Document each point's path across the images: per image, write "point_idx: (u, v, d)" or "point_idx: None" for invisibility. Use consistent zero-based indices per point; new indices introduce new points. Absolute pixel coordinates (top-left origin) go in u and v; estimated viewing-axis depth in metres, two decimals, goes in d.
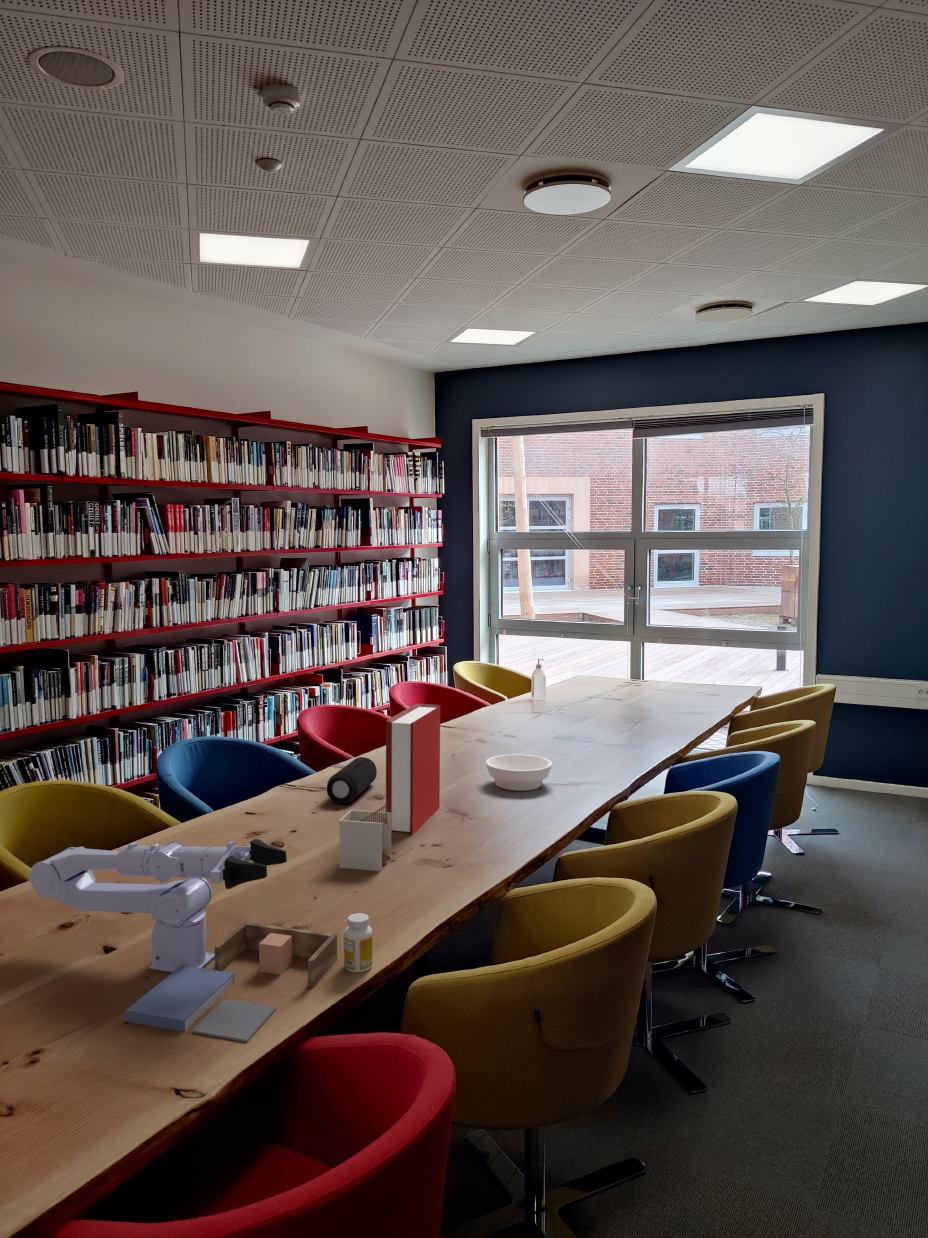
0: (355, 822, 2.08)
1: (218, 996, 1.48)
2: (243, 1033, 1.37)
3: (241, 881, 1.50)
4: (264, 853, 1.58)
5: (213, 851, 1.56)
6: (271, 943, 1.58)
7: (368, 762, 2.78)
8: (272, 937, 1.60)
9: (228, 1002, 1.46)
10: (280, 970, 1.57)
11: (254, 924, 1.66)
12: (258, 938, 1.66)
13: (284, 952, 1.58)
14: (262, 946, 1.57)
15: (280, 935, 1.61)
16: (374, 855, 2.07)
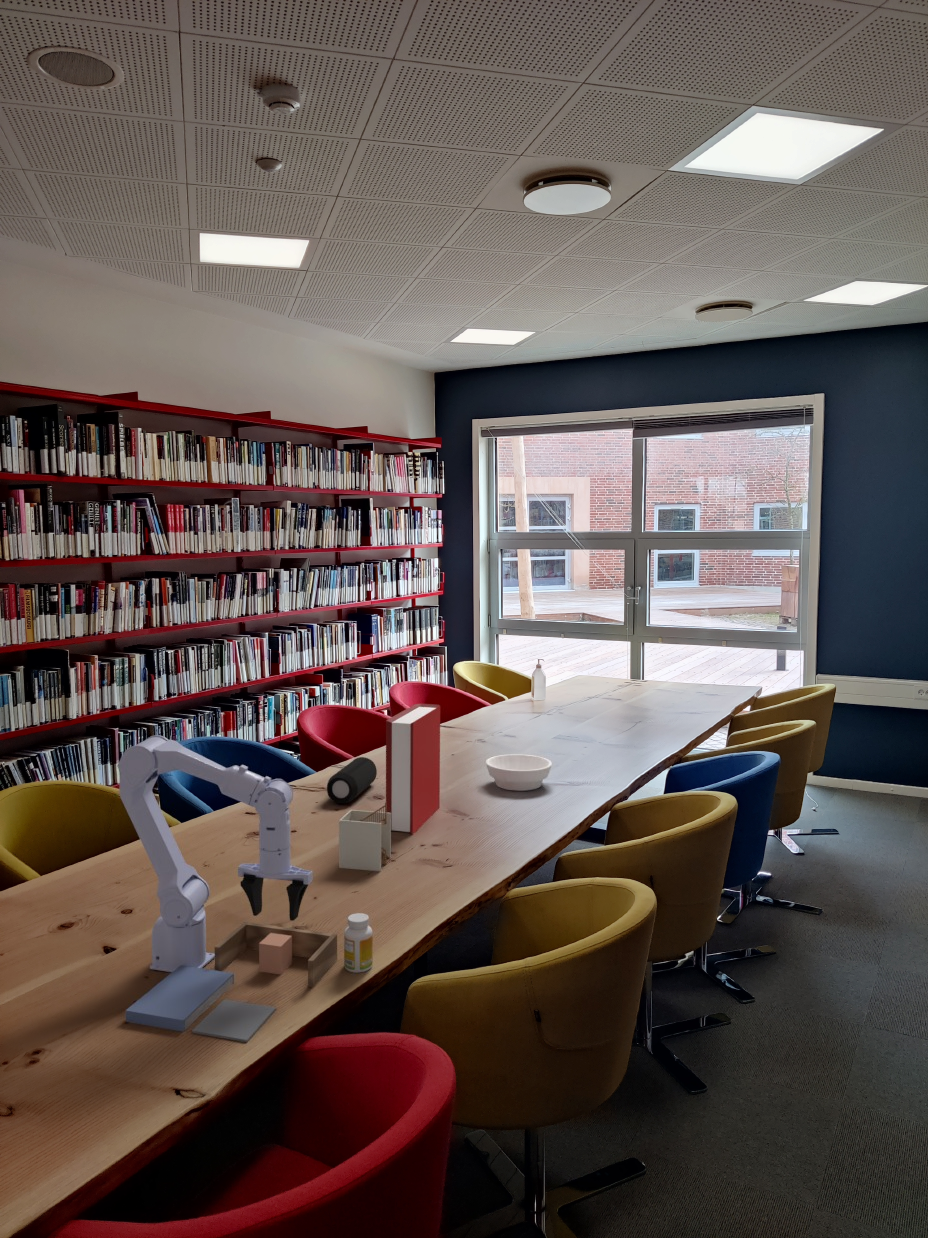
0: (355, 822, 2.08)
1: (218, 996, 1.48)
2: (243, 1033, 1.37)
3: (296, 900, 1.56)
4: (259, 890, 1.60)
5: None
6: (271, 943, 1.58)
7: (368, 762, 2.78)
8: (272, 937, 1.60)
9: (228, 1002, 1.46)
10: (280, 970, 1.57)
11: (254, 924, 1.66)
12: (258, 938, 1.66)
13: (284, 952, 1.58)
14: (262, 946, 1.57)
15: (280, 935, 1.61)
16: (374, 855, 2.07)
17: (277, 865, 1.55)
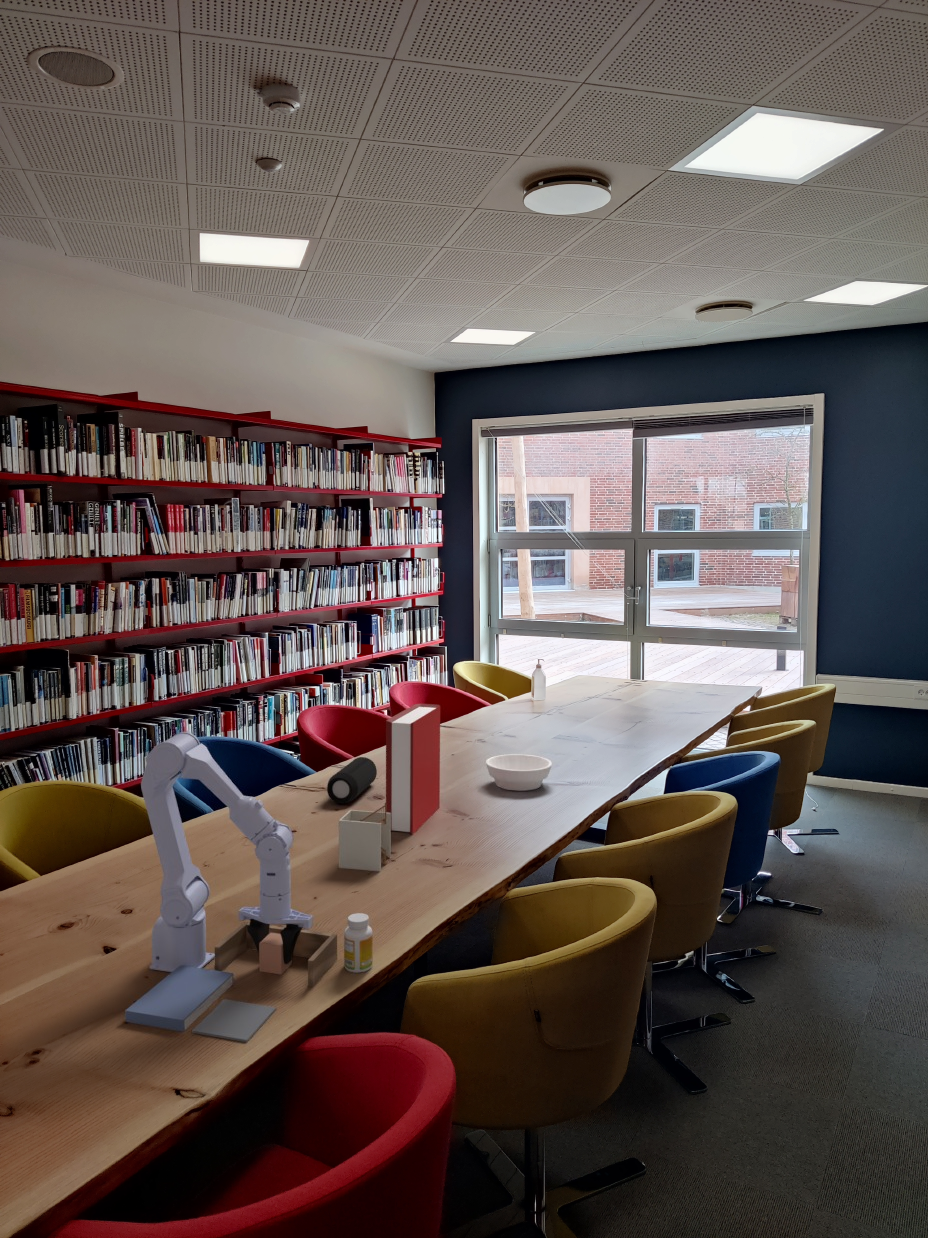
0: (354, 822, 2.08)
1: (217, 996, 1.48)
2: (243, 1033, 1.37)
3: (290, 944, 1.57)
4: (265, 935, 1.60)
5: None
6: (271, 942, 1.58)
7: (368, 762, 2.78)
8: (272, 937, 1.60)
9: (228, 1002, 1.46)
10: (280, 970, 1.57)
11: None
12: None
13: None
14: (262, 946, 1.57)
15: (280, 935, 1.61)
16: (373, 855, 2.07)
17: (277, 910, 1.56)
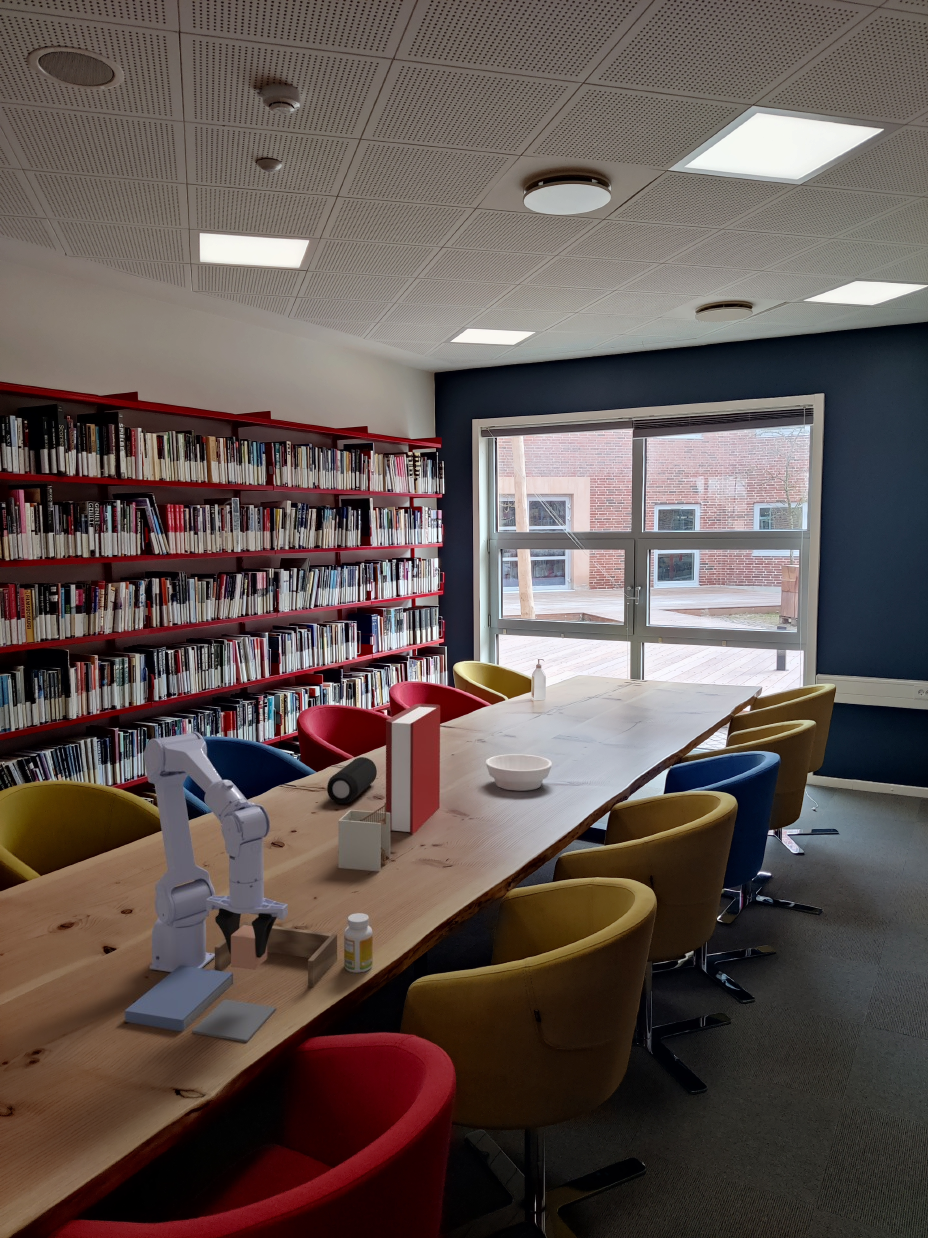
0: (354, 822, 2.08)
1: (217, 996, 1.48)
2: (243, 1033, 1.37)
3: (263, 935, 1.43)
4: (236, 926, 1.46)
5: None
6: (244, 935, 1.44)
7: (368, 762, 2.78)
8: (246, 929, 1.47)
9: (228, 1002, 1.46)
10: (253, 965, 1.43)
11: None
12: None
13: None
14: (234, 938, 1.44)
15: None
16: (373, 855, 2.07)
17: (249, 899, 1.42)
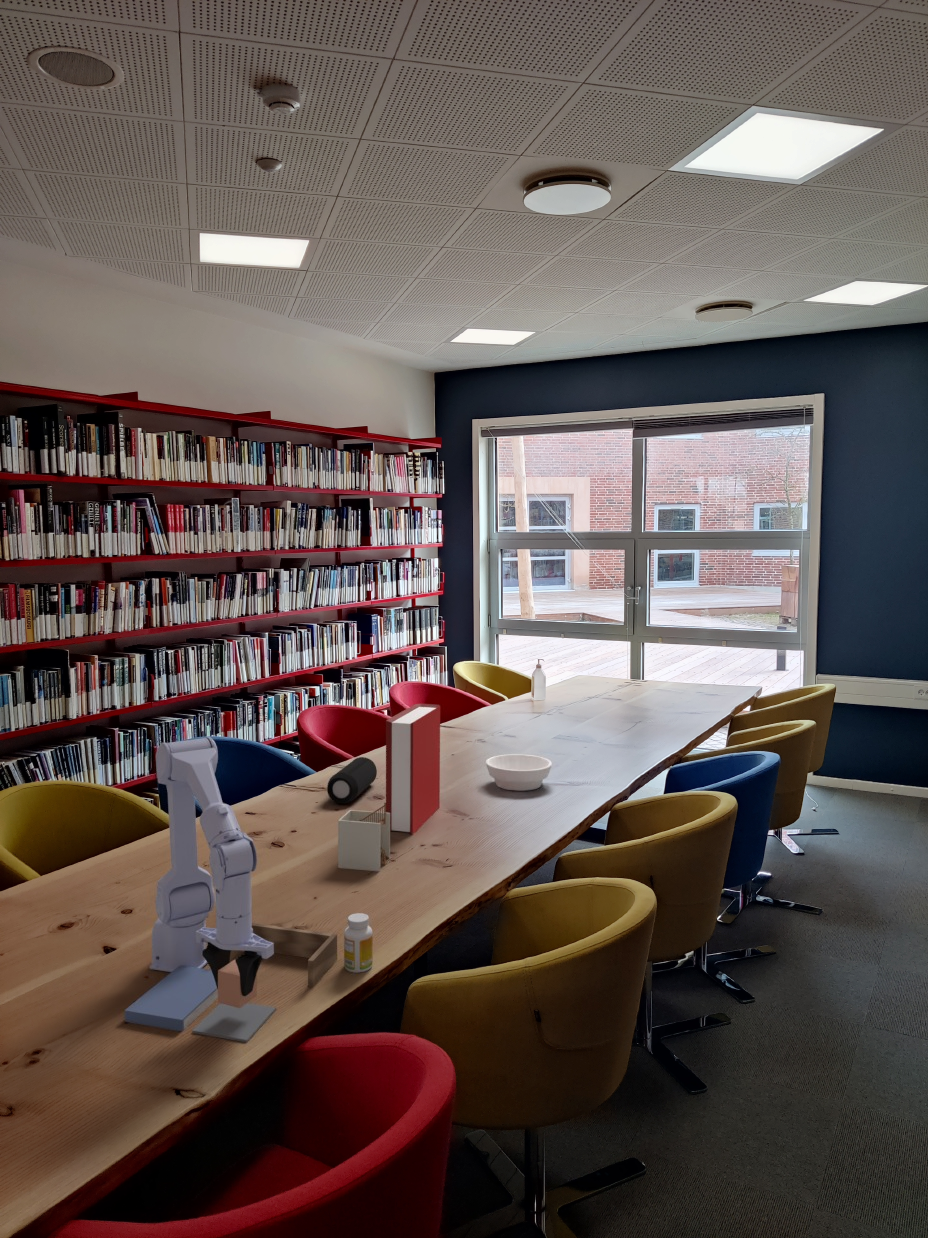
0: (354, 822, 2.08)
1: (217, 996, 1.48)
2: (243, 1033, 1.37)
3: (248, 973, 1.38)
4: (225, 961, 1.42)
5: None
6: (231, 971, 1.40)
7: (368, 762, 2.78)
8: (235, 964, 1.42)
9: None
10: (239, 1003, 1.39)
11: (254, 924, 1.66)
12: None
13: None
14: (221, 974, 1.40)
15: None
16: (373, 855, 2.07)
17: (233, 935, 1.37)
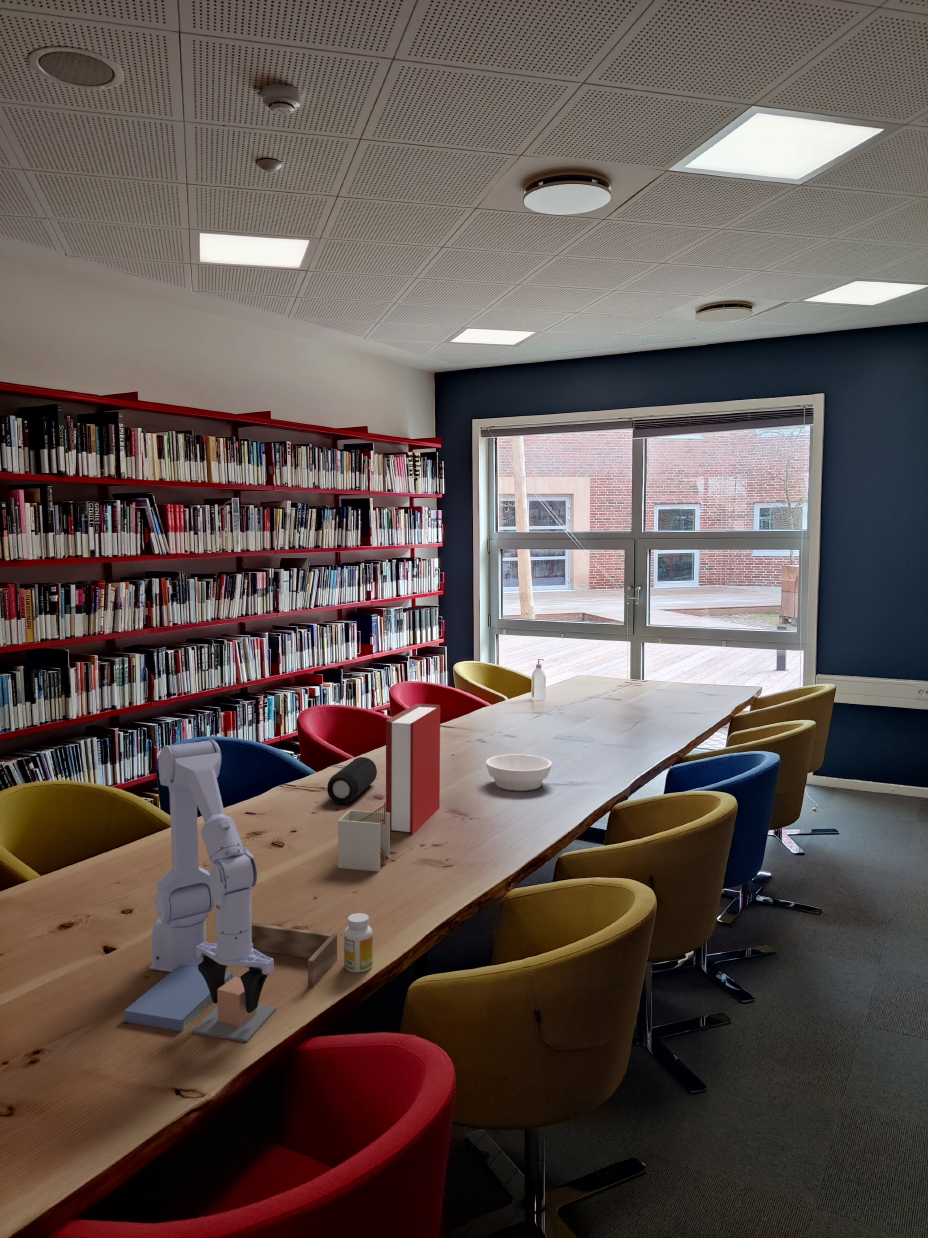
0: (354, 822, 2.08)
1: None
2: (243, 1033, 1.37)
3: (253, 990, 1.37)
4: (220, 975, 1.42)
5: None
6: (231, 990, 1.40)
7: (368, 762, 2.78)
8: (234, 982, 1.42)
9: None
10: (238, 1022, 1.39)
11: (254, 924, 1.66)
12: (258, 938, 1.66)
13: (245, 1001, 1.40)
14: (220, 993, 1.40)
15: None
16: (373, 855, 2.07)
17: (233, 950, 1.37)
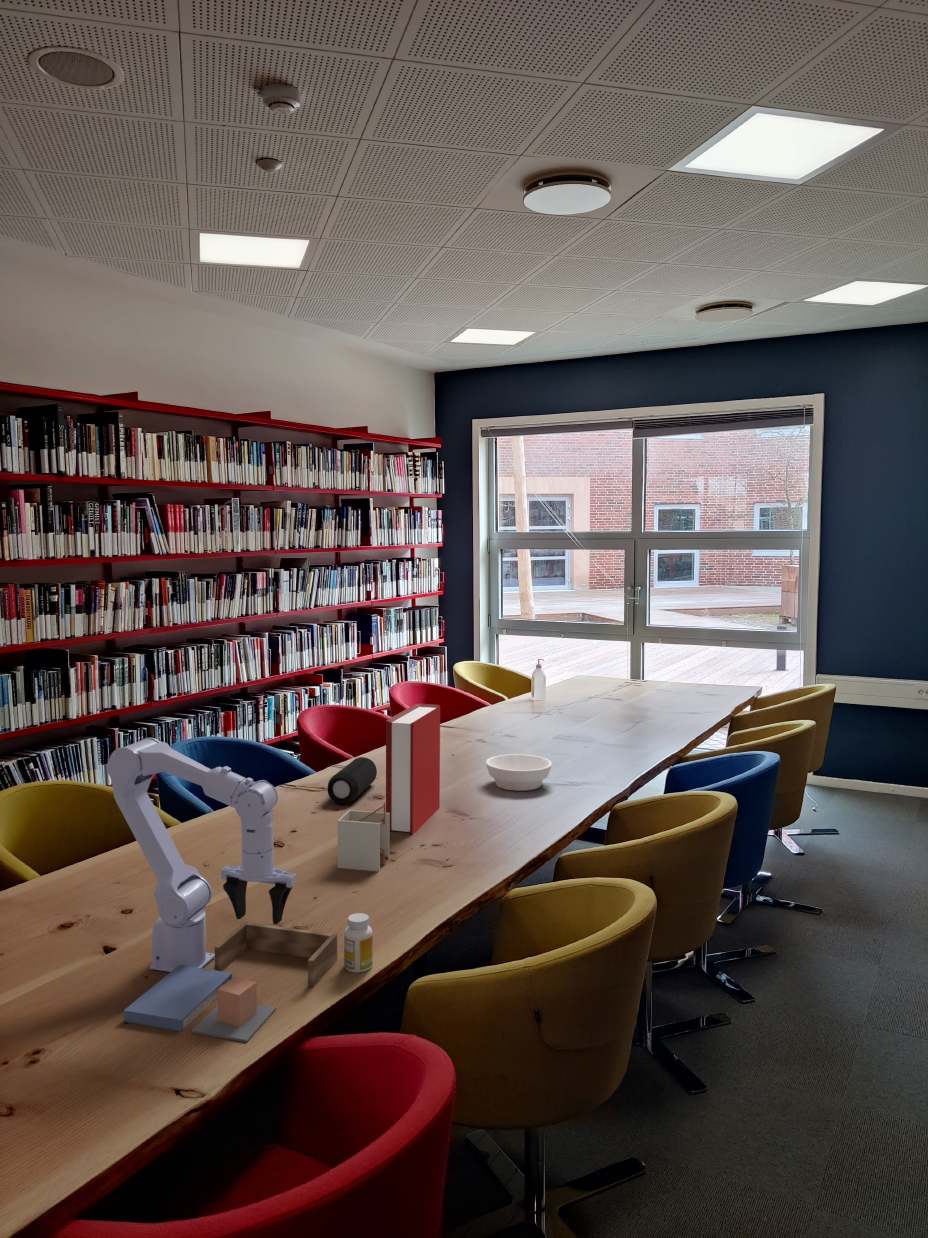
0: (353, 822, 2.08)
1: (216, 996, 1.48)
2: (243, 1033, 1.37)
3: (279, 903, 1.53)
4: (242, 893, 1.58)
5: None
6: (231, 990, 1.40)
7: (368, 762, 2.78)
8: (234, 982, 1.42)
9: None
10: (238, 1022, 1.39)
11: (254, 924, 1.66)
12: (258, 938, 1.66)
13: (245, 1001, 1.40)
14: (220, 993, 1.40)
15: (244, 980, 1.43)
16: (372, 855, 2.07)
17: (259, 868, 1.53)
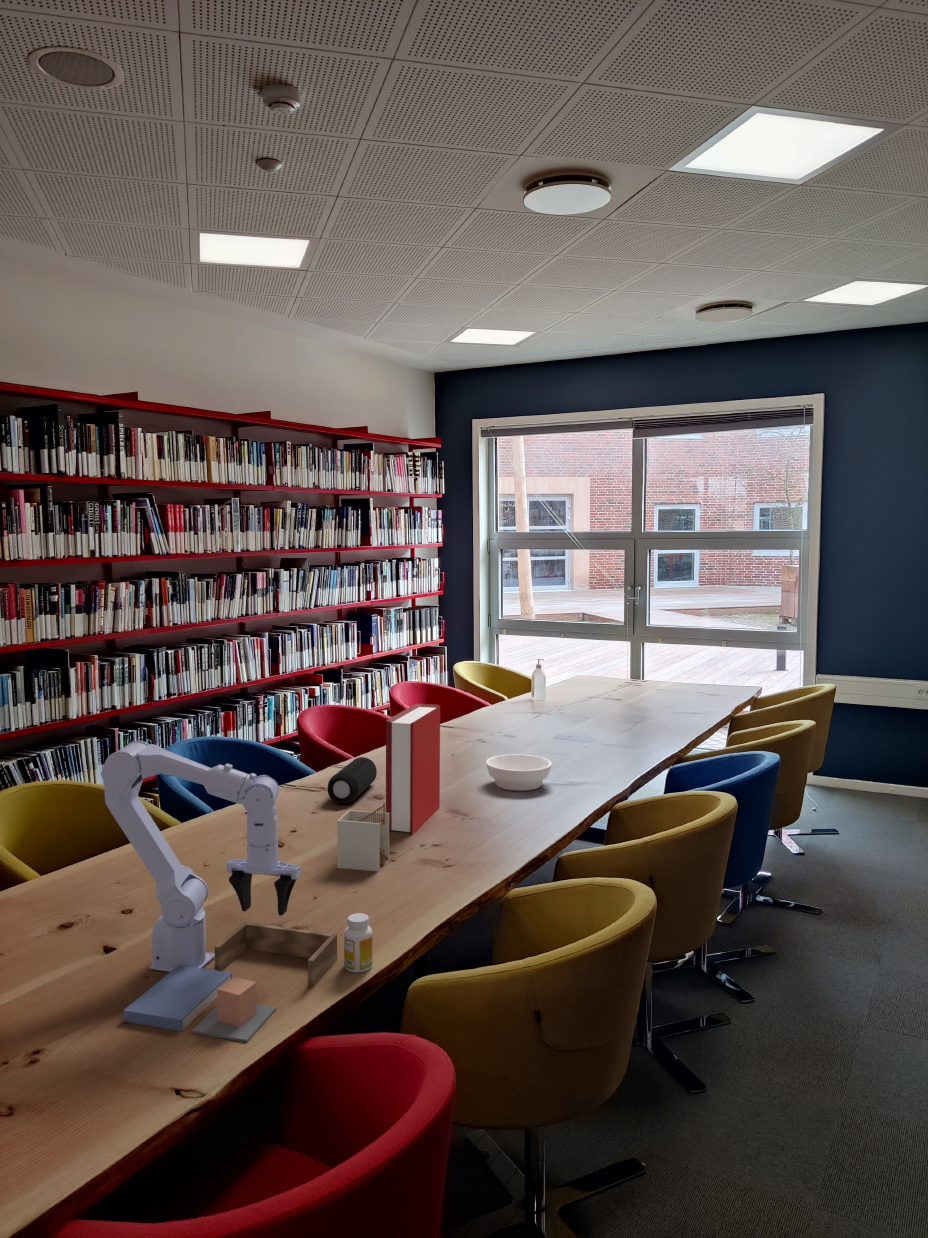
0: (353, 822, 2.08)
1: (216, 996, 1.48)
2: (243, 1033, 1.37)
3: (284, 894, 1.57)
4: (247, 886, 1.61)
5: None
6: (231, 990, 1.40)
7: (368, 762, 2.78)
8: (234, 982, 1.42)
9: None
10: (238, 1022, 1.39)
11: (254, 924, 1.66)
12: (258, 938, 1.66)
13: (245, 1001, 1.40)
14: (220, 993, 1.40)
15: (244, 980, 1.43)
16: (372, 855, 2.07)
17: (265, 861, 1.56)
